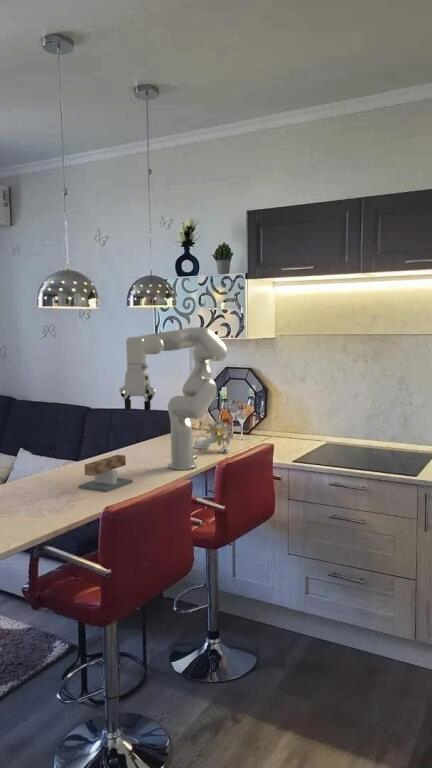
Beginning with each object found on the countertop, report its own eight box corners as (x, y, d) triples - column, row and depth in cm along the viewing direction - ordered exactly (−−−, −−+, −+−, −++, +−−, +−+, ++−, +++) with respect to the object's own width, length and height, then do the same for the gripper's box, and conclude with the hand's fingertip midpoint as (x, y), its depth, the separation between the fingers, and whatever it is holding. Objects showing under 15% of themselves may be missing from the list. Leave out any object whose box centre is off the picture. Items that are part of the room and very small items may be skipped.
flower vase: (198, 469, 301) (225, 451, 283) (182, 436, 305) (208, 417, 287) (217, 461, 310) (244, 443, 292) (201, 430, 313) (227, 410, 295)
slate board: (105, 478, 243) (104, 464, 242) (132, 482, 236) (132, 467, 236) (78, 487, 229) (77, 472, 229) (107, 492, 222) (106, 476, 222)
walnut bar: (117, 464, 242) (117, 454, 242) (125, 465, 240) (125, 455, 240) (84, 475, 225) (84, 464, 224) (93, 476, 223) (92, 465, 222)
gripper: (159, 367, 237) (160, 409, 239) (124, 366, 245) (126, 407, 247) (148, 368, 231) (149, 412, 232) (113, 368, 239) (114, 410, 240)
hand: (137, 409), depth 239 cm, fingers open, 9 cm apart
